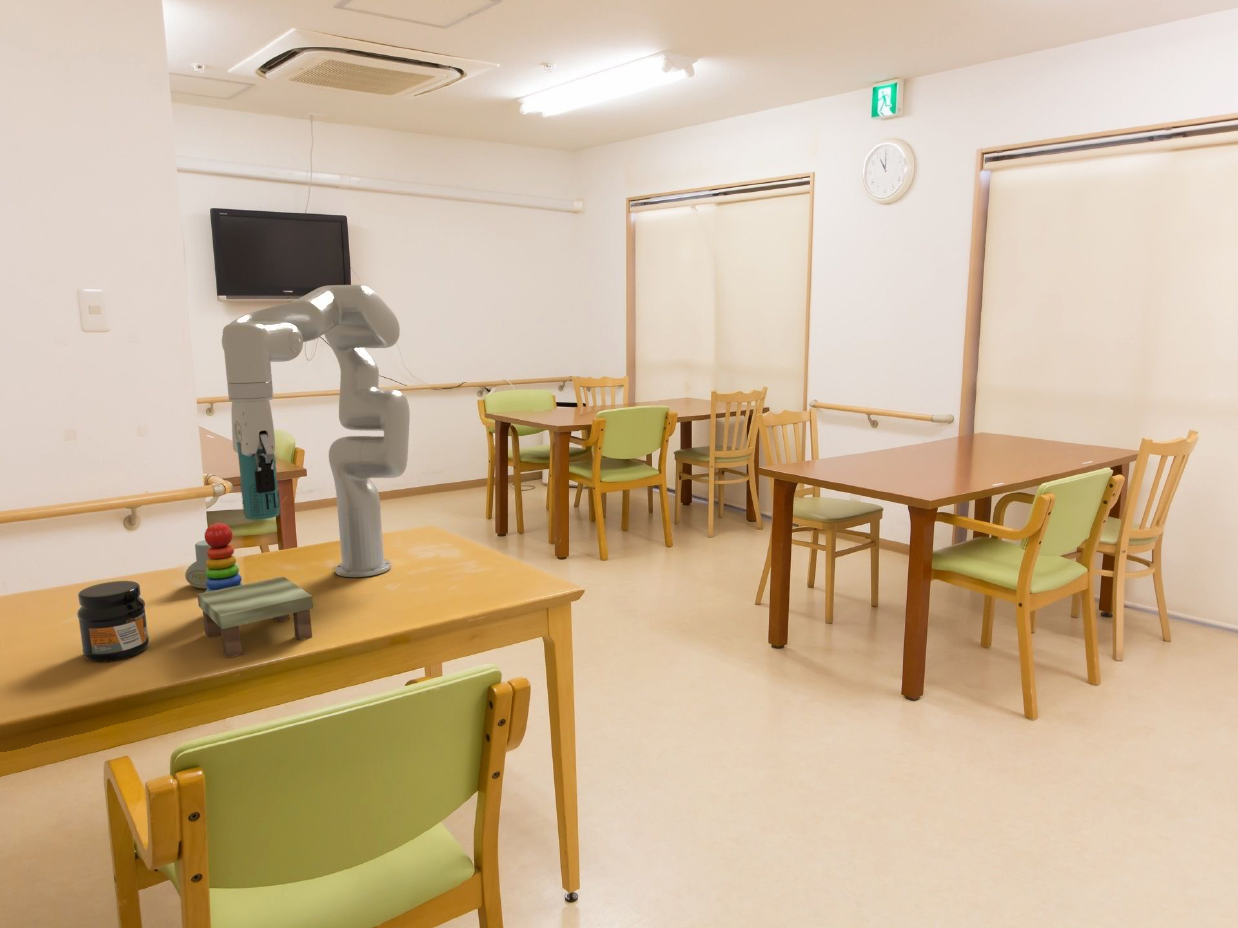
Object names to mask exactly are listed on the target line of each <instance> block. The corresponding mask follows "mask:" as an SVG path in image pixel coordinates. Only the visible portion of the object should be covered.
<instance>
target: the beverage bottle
mask: <svg viewBox="0 0 1238 928" xmlns="http://www.w3.org/2000/svg"><path fill="white" fill-rule="evenodd" d="M237 448H238V453H237V456H238V466H239V476H240V485H239V486H240V491H241V492H240V495H241V497H240V498H242V499H241V502H242V512H243V513H242V514H243V515H244V519H246V520H255V521H256V520H266V519H273V518H275V517H278V516H279V515H280V513H281V507H280V506H281V505H280V504H281V501H280V491H279V489H278V477H277V470H278V468H277V465H276V456H275V453H274V454H273V466H274V480H275V491H272V492H265V493H257V492H256V482H255V471H257V470H256V466H255V461H254V457H253V454H252V456H250V457H248V456H245V455H243V454H242V451H241V443H240V442H239V441H238V442H237ZM258 453H264V452H263V450H261V451H257V454H258ZM259 461H260V462H261V458H259Z"/></svg>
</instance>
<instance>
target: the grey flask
mask: <svg viewBox="0 0 1238 928" xmlns="http://www.w3.org/2000/svg"><path fill="white" fill-rule="evenodd" d="M209 548H211V546H209V545H208V544H207V542H206V540H205V539H204V540H199V541H198V542H196V543H195V544H194V549H195V560H196V561H193V562H192V563H191V564H190V565H189V566H188V567H187V569H186V570H185V572H184V573H185V574H184V576H185V580H186V582H187V583H188V584H190V585H191V586H192V587H195V588H199V589H201V590H204V589H207V588H208V586H207V585H206V580H207V579H208V578H209V577H207V575H206V570H207V569H208V567H207V566H206V561H207V560H208V559H209V557H208V556H207V550H208V549H209ZM235 565H237V566H238V568H239V569H240V567H239V565H238V563H237V562H236V563H235ZM238 574H239V575H240V570H239V571H238Z"/></svg>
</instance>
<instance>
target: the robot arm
mask: <svg viewBox="0 0 1238 928" xmlns="http://www.w3.org/2000/svg"><path fill="white" fill-rule="evenodd" d="M400 334H401V330H400V323H399V320H398V318H397V316H396V314H395V313H394V311H393V310H392V309H391V308H390V307H389V306H388V305H387V303H386V302H385V301H384V300H383V299H382V297H380V295H378V293H376V291H374V290H373V289H372V288H370V287H368V286H367V285H362V284H337V285H333V284H331V285H323V286H320V287H317V288H316V289H314V290H311V291H310V292H309V293H307V294H305V295H303V296H301V297H298V298H297V299H295V300H293V301H290V302H285V303H281V304H277V305H275V306H270V307H266V308H262V309H259V310H255V311H253V312H249V313H246V314H244V315H242V316H240V317H238V318H236V319H234V320H233V321H231V322H230V323H229V324H226V325H225V326H224V327H223V329H222V336H221V345H222V350H223V351H224V352H223V353H224V354H223V355H224V364H225V373H226V382H227V383H226V385H227V394H228V395H227V396H228V402H230V403H231V437H232V448H233V449H232V450H234V451H233V452H235V453H237V454H238V448H237V442H238V441H239V442H240V443H241V451H242V454H243V455H245V456H248V457H250V456H252V454H253V457H254V461H255V466H256V470H257V471H255V482H256V492H257V493H265V492H272V491H275V480H274V466H273V454H274V455H275V451H276V437H275V430H274V429H275V427H274V420H273V414H272V408H271V403H270V401H273V400H274V388H273V376H272V365H271V364H272V363H280V362H281V363H282V362H290V361H292V360H294V359H296V358H297V357H298V356H299V355H300V354H301V352H302V350H303V346H304V343H306V342H310V341H314V340H316V339H319V338H320V337H322V336H323V335H324V337H325V339H326V341H327V342H328V345H329V346H330V348H331V349H332V351H333V353H334V355H335V357H336V359H337V361H338V365H339V369H340V382H339V396H338V397H339V398H338V399H339V400H338V401H339V403H338V419H339V423H340V425H341V426H342V427H343V428H345V429H347V430H350V431H359V432H361V431H362V432H363V431H365V432H366V431H367V432H369V431H371V432H374V431H375V432H377V431H380V432H382V431H383V436H381V435H380V436H375V435H374V436H373V435H372V436H371V435H370V436H369V435H350V436H348V435H347V436H343V437H340V438H337V439H336V440H334V441H333V442H332V443H331V445H330V446H329V449H328V463H329V466H330V469H331V473H332V477H333V482H334V488H335V495H336V504H337V505H336V507H337V517H338V518H337V519H338V520H337V521H338V531H339V542H340V555H341V562H340V563H338V564H337V565H336V566H335V567H334V570H335V574H337V575H338V576H339V577H345V578H365V577H371V576H376V575H380V574H383V573H386V572H388V571H389V570H390V569H391V568H392V561H390V560H389V559H387V558H385V554H384V542H383V541H384V540H383V527H382V524H383V523H382V513H381V511H382V510H381V498H380V494H379V491H378V489H377V487H376V486H375V484H374V482H373V481H372V480H371V479H375V478H377V479H394V478H399V477H401V476H402V475H403V474H404V473H405V471H406V468H407V466H408V465H407V464H408V457H409V456H408V454H409V440H410V436H409V435H410V422H411V421H410V415H411V414H410V412H411V411H410V406H409V401H408V398H407V397H406V395H405V394H404V393H403V392H401V391H400V390H397V389H392V388H391V389H390V388H388V389H385V388H384V389H379V381H380V380H379V379H380V378H379V375H380V371H379V367H378V365H377V363H376V361H375V360H374V358H373V357H372V356H371V354H370V353H369V352H368V351H367V349H388V348H391V347H392V346H394V345H396V343H397V342H398V341H399V339H400ZM261 450H263V452H264V453H258V454H257V451H261ZM259 458H261V462H260V461H259Z"/></svg>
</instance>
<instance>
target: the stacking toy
mask: <svg viewBox="0 0 1238 928" xmlns="http://www.w3.org/2000/svg"><path fill="white" fill-rule="evenodd" d="M232 539H233V531H232V529H231V528H230V526H229V525H227V524H226V523H223V522H215V523H213V524H211V525H209V526H208V527H207V528H206V529H205V532H204V540H206V542H207V544H208V545H209V546H211V548H209V549H208V550H207V556H208V557H209V559H208V560H207V561H206V566H207V567H208V569H207V570H206V575H207V577H209V578H208V579H207V580H206V585H207V586H208V588H207V590H205V592H210V591H215V590H220V589H225V588H230V587H234V586H239V585H244V584H243V583H242V580H243V579H242V576H241V574H240V573H239V574H238V571H239V572H240V567H239V565H238V564H237V565H238V566H237V565H235V563H237V559H236V557H235V555H234V553H235V548H234V547H233V546H232V545H230V543H231V542H232ZM238 567H239V568H238Z"/></svg>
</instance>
